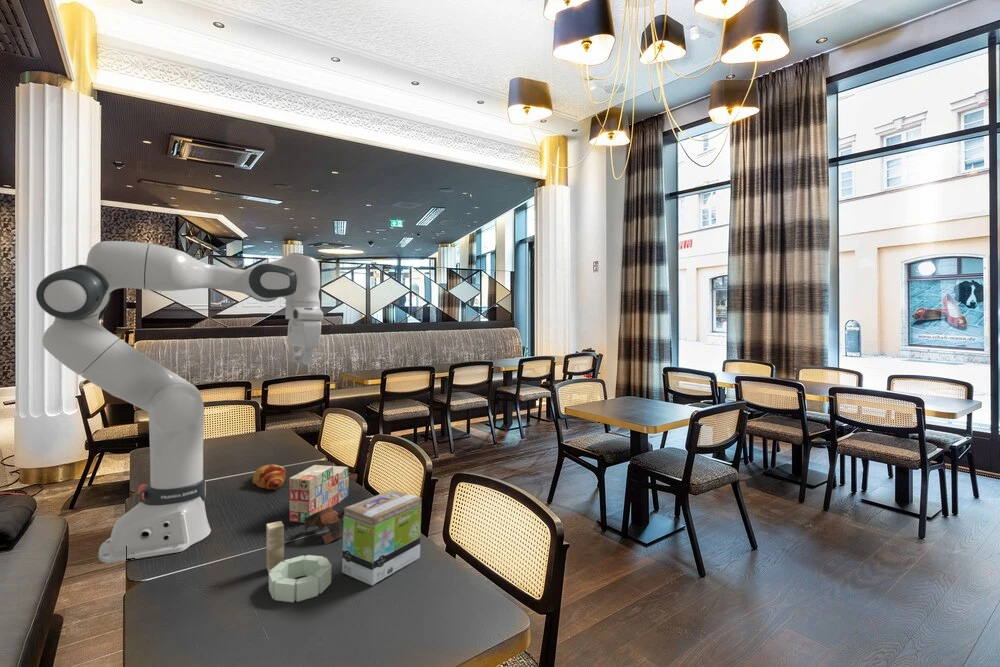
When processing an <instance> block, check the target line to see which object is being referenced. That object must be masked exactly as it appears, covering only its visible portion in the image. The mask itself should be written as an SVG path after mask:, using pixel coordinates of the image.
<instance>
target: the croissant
mask: <svg viewBox="0 0 1000 667" xmlns="http://www.w3.org/2000/svg"><path fill="white" fill-rule="evenodd" d="M286 475H287V470H286V469H285V468H284V467H283V466H281V465H278V464H266V465H261V466H258V467H257V468H256V469H255V471H254V474H253V477H252V484H254V485H256V487H258V488H263V489H266V490H273V491H274V490H277V489H279V488H281V487H283V485H284V483H285V481H286Z"/></svg>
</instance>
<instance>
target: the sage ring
mask: <svg viewBox="0 0 1000 667" xmlns="http://www.w3.org/2000/svg"><path fill="white" fill-rule="evenodd" d="M299 577H300V578H299ZM331 584H332V564H331V562H330V561H329V559H328V558H327V557H324V556H322V555H321V556H320V555H311V554H307V555H299V556H296V557H292V558H288V559H284V562H280V563H279V564H278V565H277V566H275V567H274V568H273V569H272V570H270V573H268V591H269V594H270V596H271V598H272V600H274V601H280V602H285V603H294V602H295V601H296V603H298V602H301V601H304V600H307V599H311V598H314V597H318V596H319V594H320V595H321V594H322V593H323V592H324V591H325V590H326V589H327V588H328V587H329V586H330V585H331Z"/></svg>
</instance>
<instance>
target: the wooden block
mask: <svg viewBox="0 0 1000 667" xmlns="http://www.w3.org/2000/svg"><path fill="white" fill-rule="evenodd" d="M284 560H285V525H284V523H283V521H282V520H279V521H274V522H270V523H269V522H268V523H266V570H267V573H268V574H269V573H270V570H272V569H273V568H274V567H275V566H277V565H278V564H279V563H280V562H284Z"/></svg>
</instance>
